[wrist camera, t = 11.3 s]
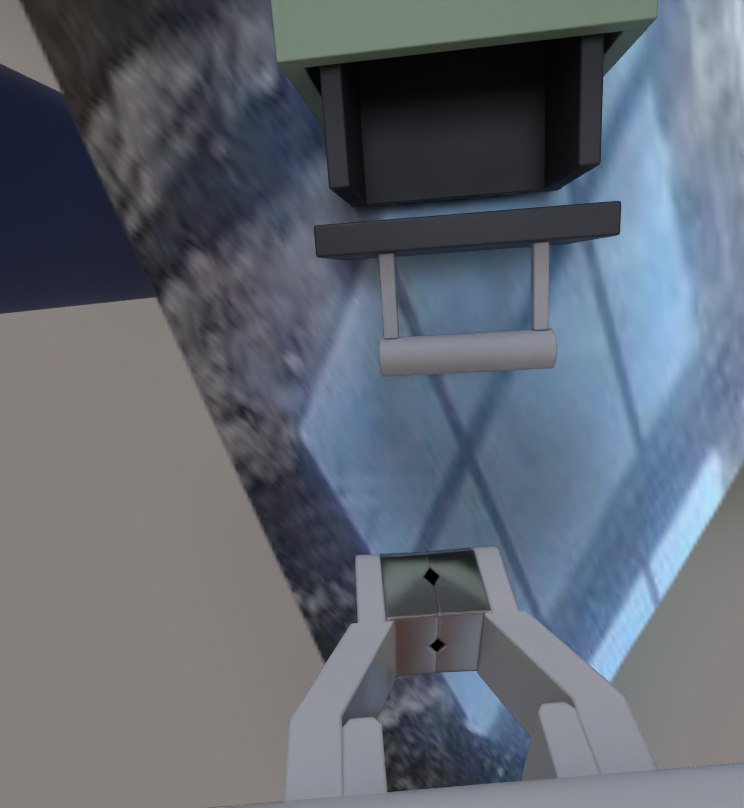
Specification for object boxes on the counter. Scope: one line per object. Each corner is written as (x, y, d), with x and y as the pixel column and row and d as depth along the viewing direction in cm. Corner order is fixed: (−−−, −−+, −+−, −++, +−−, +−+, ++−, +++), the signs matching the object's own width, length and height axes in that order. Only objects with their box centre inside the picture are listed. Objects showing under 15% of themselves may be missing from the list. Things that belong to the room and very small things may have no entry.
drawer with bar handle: (568, 343, 28) (615, 369, 21) (351, 355, 29) (327, 383, 22) (575, -77, 24) (637, -221, 17) (320, -42, 25) (278, -162, 18)
